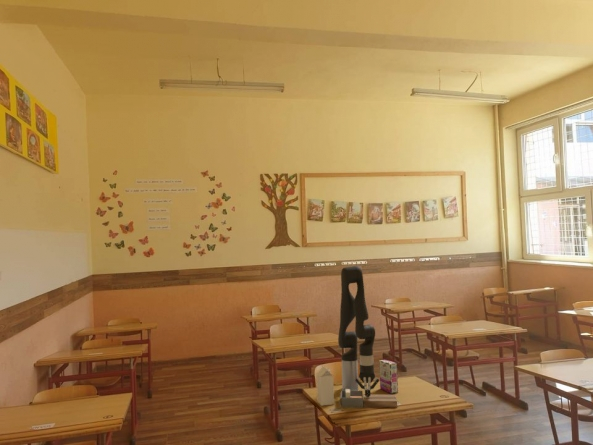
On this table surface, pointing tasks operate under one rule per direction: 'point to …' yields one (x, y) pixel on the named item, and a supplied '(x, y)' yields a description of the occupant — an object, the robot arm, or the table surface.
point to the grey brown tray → (380, 400)
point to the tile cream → (347, 393)
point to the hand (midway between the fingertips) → (367, 396)
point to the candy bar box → (388, 376)
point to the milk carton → (325, 387)
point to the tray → (351, 399)
